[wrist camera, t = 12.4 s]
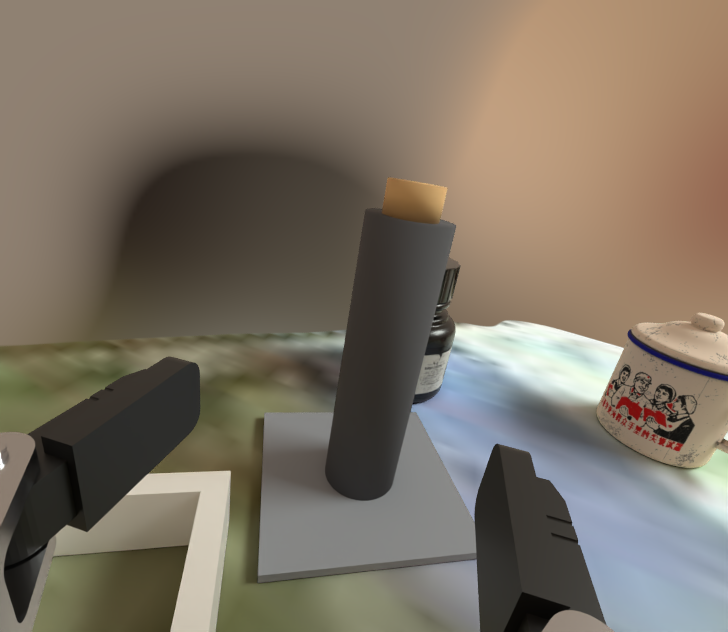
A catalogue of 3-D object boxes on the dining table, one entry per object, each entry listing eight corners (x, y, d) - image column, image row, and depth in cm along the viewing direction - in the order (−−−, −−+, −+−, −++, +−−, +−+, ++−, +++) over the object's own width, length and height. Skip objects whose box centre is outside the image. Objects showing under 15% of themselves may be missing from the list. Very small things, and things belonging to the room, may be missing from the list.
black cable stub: (383, 446, 27) (442, 185, 20) (402, 498, 23) (482, 194, 16) (321, 448, 26) (362, 172, 19) (329, 502, 22) (384, 178, 15)
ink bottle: (441, 418, 32) (479, 282, 28) (338, 395, 33) (359, 259, 28) (438, 364, 41) (467, 255, 36) (358, 347, 42) (376, 238, 37)
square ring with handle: (229, 521, 20) (230, 470, 19) (199, 757, 12) (199, 698, 11) (-131, 546, 17) (-159, 485, 15) (-496, 905, 9) (-617, 843, 7)
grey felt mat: (414, 417, 31) (416, 412, 31) (487, 557, 21) (489, 551, 21) (264, 418, 28) (264, 412, 28) (257, 582, 18) (258, 575, 18)
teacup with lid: (571, 412, 36) (621, 296, 32) (625, 398, 40) (675, 295, 36) (724, 516, 26) (825, 371, 22) (774, 484, 31) (866, 356, 26)
